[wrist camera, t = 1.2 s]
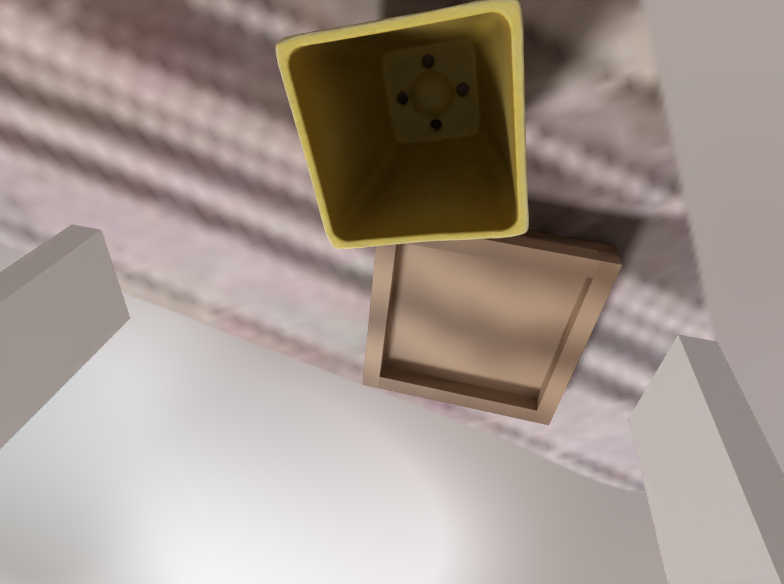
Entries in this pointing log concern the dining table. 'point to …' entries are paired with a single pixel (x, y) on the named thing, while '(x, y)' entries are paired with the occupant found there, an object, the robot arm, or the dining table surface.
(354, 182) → the flower pot
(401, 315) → the walnut tray
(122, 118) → the dining table surface
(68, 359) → the robot arm
